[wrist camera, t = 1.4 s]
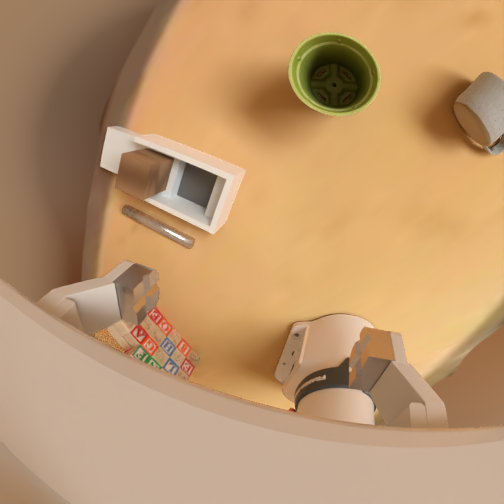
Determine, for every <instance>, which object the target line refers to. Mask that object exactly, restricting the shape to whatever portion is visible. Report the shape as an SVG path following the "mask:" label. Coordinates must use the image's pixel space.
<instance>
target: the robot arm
mask: <svg viewBox="0 0 504 504" xmlns="http://www.w3.org/2000/svg"><path fill="white" fill-rule="evenodd" d="M158 280H159V276H158V272H157V271H156V270H154V269H151V268H148V267H146V266H143V265H140V264H137V263H134V262H131V261H128V260H126V261H123V262H122V263H121V264H119V265H118V266H117V267H116V268H114V269H113V270H112V271H111V272H109V273H108V274H107V275H106V276H104V277H103V278H101V277H98V278H95V279H91V280H87V281H83V282H79V283H75V284H71V285H67V286H63V287H60V288H56V289H53V290H51V291H50V292H49V293H48V294H46V295H45V296H44V297H43V298H41V299H40V300H39V301H38V302H37V303H34V302H33V301H32V300H30V299H29V298H27V297H26V296H25V295H23V294H22V293H20V292H19V291H17V290H16V289H15V288H13V287H12V286H11V285H9V284H8V283H7V282H5V281H4V280H3V279H1V278H0V504H504V424H503V425H495V426H484V427H470V428H449V426H448V420H447V414H446V409H445V404H444V403H443V401H442V400H441V399H440V398H439V397H438V395H437V394H436V393H435V392H434V391H433V390H432V388H431V387H430V386H429V385H428V384H427V382H426V381H425V380H424V379H423V378H422V377H421V375H420V374H419V373H418V372H417V371H416V370H415V368H414V367H413V366H412V365H411V364H408V363H407V359H406V354H405V349H404V344H403V340H402V335H401V334H400V333H398V332H392V331H384V330H379V329H375V328H374V327H373V326H372V325H371V324H370V323H369V322H368V321H366V320H364V319H362V318H360V317H357V316H353V315H347V314H336V315H329V316H325V317H322V318H320V319H317V320H314V321H303V322H296V323H294V324H293V325H292V328H291V331H290V333H289V336H288V339H287V341H286V344H285V347H284V349H283V352H282V354H281V357H280V360H279V362H278V365H277V367H276V370H275V374H274V376H275V378H276V379H277V380H278V381H279V382H280V383H282V384H283V389H282V392H283V394H284V396H285V397H286V398H287V399H288V400H290V401H291V402H293V403H295V409H296V410H295V409H293V408H290V409H289V410H284V409H280V408H276V407H272V406H268V405H264V404H260V403H257V402H253V401H249V400H246V399H242V398H239V397H236V396H232V395H229V394H226V393H223V392H220V391H217V390H214V389H211V388H208V387H205V386H202V385H199V384H197V383H194V382H191V381H188V380H186V379H183V378H180V377H178V376H175V375H173V374H170V373H168V372H165V371H163V370H161V369H158V368H156V367H153V366H151V365H149V364H147V363H144V362H142V361H140V360H138V359H135V358H133V357H131V356H129V355H127V354H125V353H123V352H121V351H118V350H116V349H114V348H112V347H110V346H108V345H106V344H105V343H103V342H101V341H99V340H97V339H95V338H93V337H91V336H89V335H90V334H92V333H95V332H97V331H99V330H101V329H103V328H106V327H108V326H110V325H112V324H114V323H117V322H119V321H121V319H122V320H124V321H127V322H129V323H132V324H134V325H137V326H139V325H140V324H141V322H142V321H143V320H144V319H145V318H146V317H147V313H146V312H147V311H150V310H153V308H154V307H155V306H156V304H157V302H158V299H159V294H160V293H159V287H158V286H157V284H156V282H157V281H158ZM296 333H298V334H296ZM376 407H377V409H378V411H379V413H380V414H381V416H382V418H383V420H384V422H385V424H386V426H380V425H374V412H375V410H376Z"/></svg>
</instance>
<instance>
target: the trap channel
mask: <svg viewBox="0 0 504 504" xmlns="http://www.w3.org/2000/svg"><path fill="white" fill-rule="evenodd" d="M145 148H149V149H151V150H154V151H156V152H159V153H161V154H164V155H166V156H169V157H171V158H174V162H173V165H172V169H171V172H170V176H169V180H168V183H167V187H166V190H165V191H162V192H160V193H158V194H156V195H154V196H152V197H150V198H147V199H145V200H144V201H146V202H148V203H150V204H152V205H154V206H156V207H158V208H160V209H162V210H164V211H166V212H169V213H171V214H173V215H175V216H177V217H179V218H181V219H183V220H185V221H187V222H189V223H191V224H193V225H195V226H197V227H199V228H201V229H203V230H205V231H207V232H209V233H212V234H214V233H215V232H216V231H217V230H218V229H219V228H220V227H221V226H223V225H224V224H225V223H226V221H227V218H228V215H229V213H230V210H231V207H232V205H233V202H234V200H235V197H236V194H237V192H238V189H239V187H240V184H241V182H242V179H243V176H244V174H245V171H246V170H245V169H243V168H240V167H238V166H236V165H233V164H231V163H229V162H226V161H224V160H221V159H219V158H217V157H214V156H212V155H209V154H207V153H204V152H202V151H199V150H197V149H194V148H192V147H189V146H186V145H184V144H181V143H179V142H176V141H173V140H170V139H168V138H165V137H162V136H160V135H157V134H148V135H142V134H139V133H137V132H134V131H131V130H128V129H125V128H122V127H119V126H112V127H108V128H107V133H106V138H105V142H104V147H103V152H102V158H101V164H100V167H103V168H105V169H107V170H109V171H111V172H114V173H116V174H118V169H119V164H120V160H121V155H122V153H126V152H131V151H135V150H140V149H145Z"/></svg>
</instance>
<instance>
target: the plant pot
mask: <svg viewBox="0 0 504 504" xmlns="http://www.w3.org/2000/svg"><path fill="white" fill-rule="evenodd" d="M322 70H326V71H325V72H324V73H322V74H321V75H320V76H319V77H318V73H319V72H321V71H322ZM342 71H345V72H346V73H347V74H349V75H350V77H351V78H350V79H349V78H348V77H347V76H346V75H345V74H344V73H343V72H342ZM288 76H289V81H290V84H291V87H292V89H293V91H294V92H295V94H296V95H297V96H298V98H299V99H300V100H301V101H302V102H303V103H304V104H306V105H307V106H308V107H310V108H312V109H313V110H315V111H317V112H320V113H323V114H326V115H331V116H348V115H352V114H355V113H358V112H360V111H362V110H363V109H365V108H366V107H368V106H369V105H370V104H371V103H372V102H373V100H374V99H375V97H376V96H377V94H378V91H379V88H380V83H381V74H380V68H379V65H378V63H377V60H376V58H375V57H374V55H373V54H372V52H371V51H370V50H369V49H368V48H367V47H366V46H365V45H364V44H363V43H361V42H360V41H358V40H357V39H355V38H353V37H351V36H348V35H345V34H341V33H335V32H325V33H319V34H315V35H313V36H310V37H308V38H307V39H305V40H304V41H302V42H301V43H300V44H299V45H298V46H297V47H296V49H295V50H294V52H293V53H292V55H291V58H290V61H289V66H288ZM333 83H335V84H336V87H333V85H332V84H333ZM318 93H320V94H321V95H322V96H323V97H324V98H325V99H326V100H323V99H322V98H321V97H319V95H318ZM349 95H351V97H350V98H349V99H348V100H347V101H346V102H344V101H343V99H345V98H347V97H348V96H349Z"/></svg>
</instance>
